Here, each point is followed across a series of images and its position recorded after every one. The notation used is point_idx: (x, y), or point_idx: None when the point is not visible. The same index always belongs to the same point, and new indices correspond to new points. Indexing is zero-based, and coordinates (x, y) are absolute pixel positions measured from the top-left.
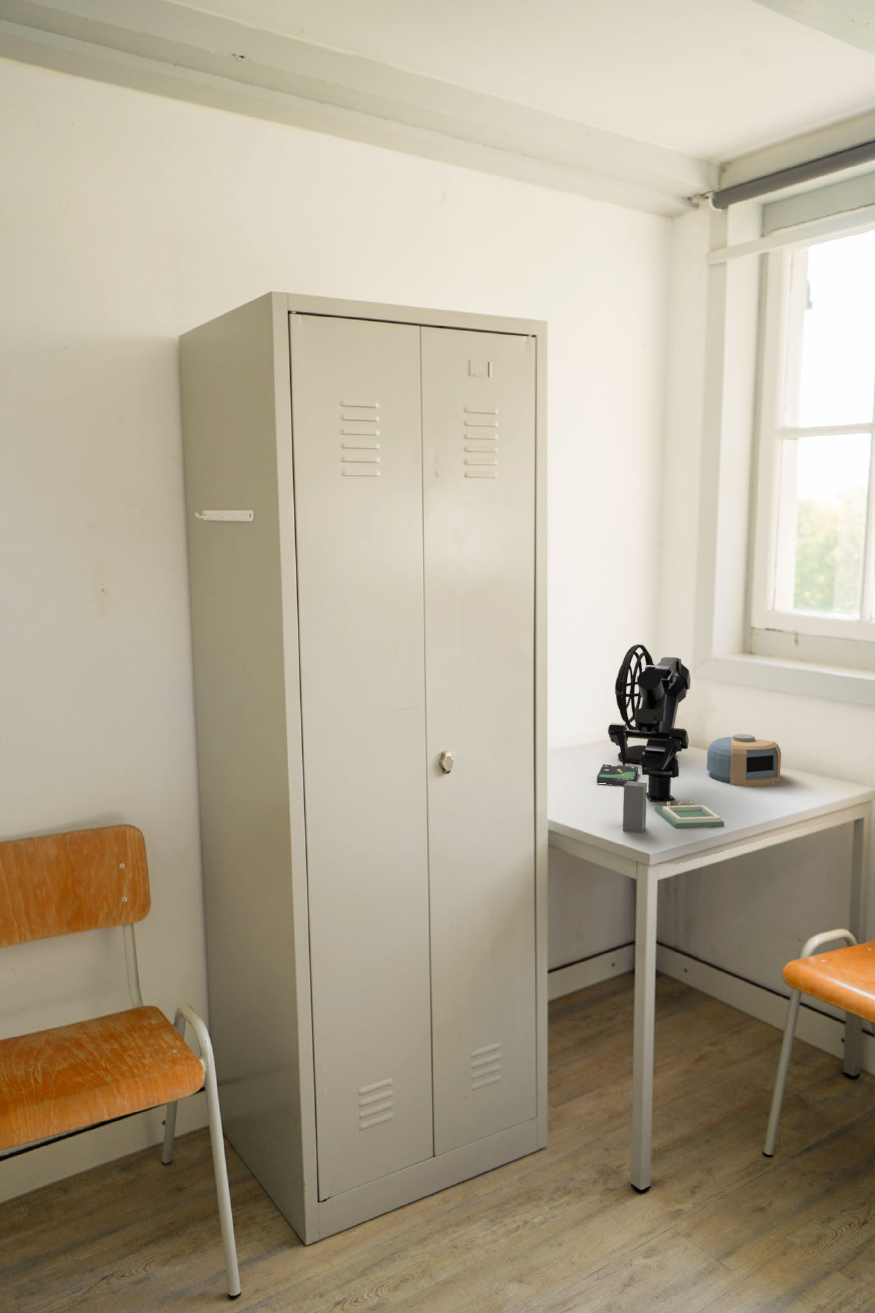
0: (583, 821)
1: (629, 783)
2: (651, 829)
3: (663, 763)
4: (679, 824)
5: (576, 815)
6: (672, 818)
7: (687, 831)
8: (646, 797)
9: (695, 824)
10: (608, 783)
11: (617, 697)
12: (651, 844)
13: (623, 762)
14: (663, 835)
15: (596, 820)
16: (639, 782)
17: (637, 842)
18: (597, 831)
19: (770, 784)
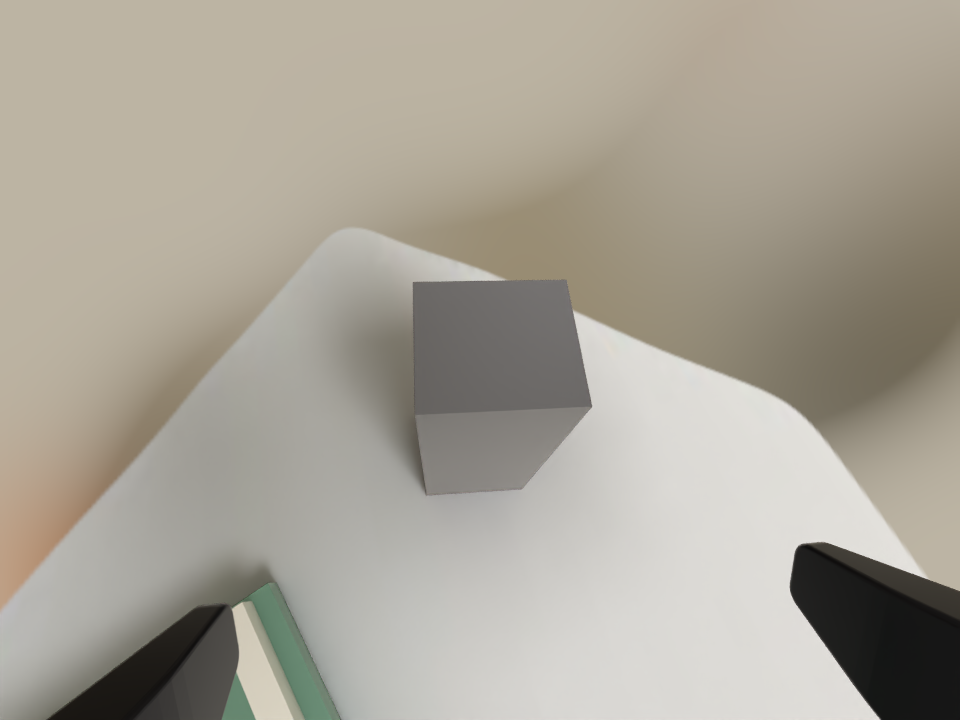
0: (717, 456)
1: (545, 330)
2: (394, 489)
3: (150, 656)
4: (244, 599)
5: (801, 536)
6: (292, 691)
7: (204, 550)
8: (420, 451)
9: None
10: None
11: None
12: (355, 298)
13: (831, 549)
14: (323, 425)
15: (680, 502)
16: (481, 396)
17: (412, 298)
18: (598, 353)
19: None
